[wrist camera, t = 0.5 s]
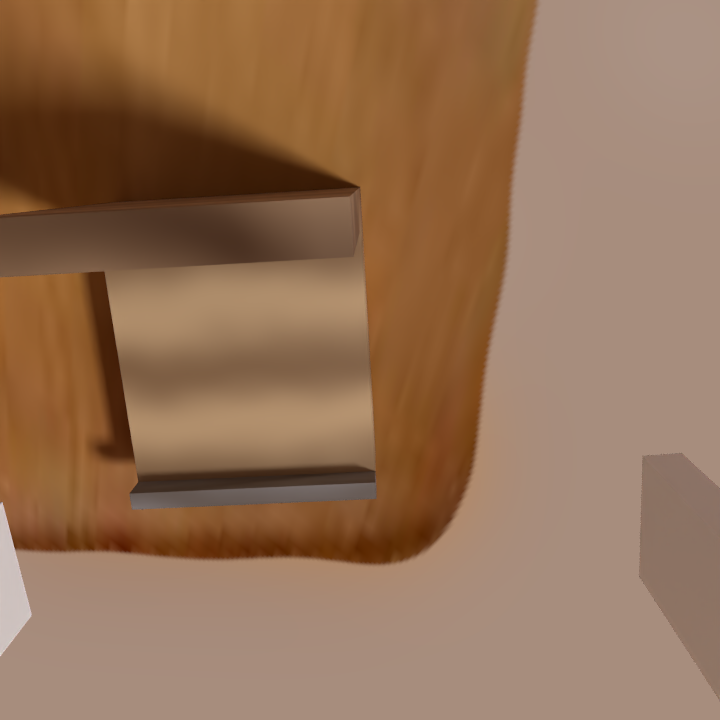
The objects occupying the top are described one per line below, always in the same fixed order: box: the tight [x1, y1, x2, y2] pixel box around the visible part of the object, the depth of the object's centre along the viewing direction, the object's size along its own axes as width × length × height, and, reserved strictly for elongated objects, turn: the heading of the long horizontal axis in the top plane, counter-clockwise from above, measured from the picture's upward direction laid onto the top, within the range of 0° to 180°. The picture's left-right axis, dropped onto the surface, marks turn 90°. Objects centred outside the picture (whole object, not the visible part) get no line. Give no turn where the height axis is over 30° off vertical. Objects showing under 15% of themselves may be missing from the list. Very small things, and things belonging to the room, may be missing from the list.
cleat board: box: [0, 187, 376, 510], centre depth 32 cm, size 17×14×16 cm
